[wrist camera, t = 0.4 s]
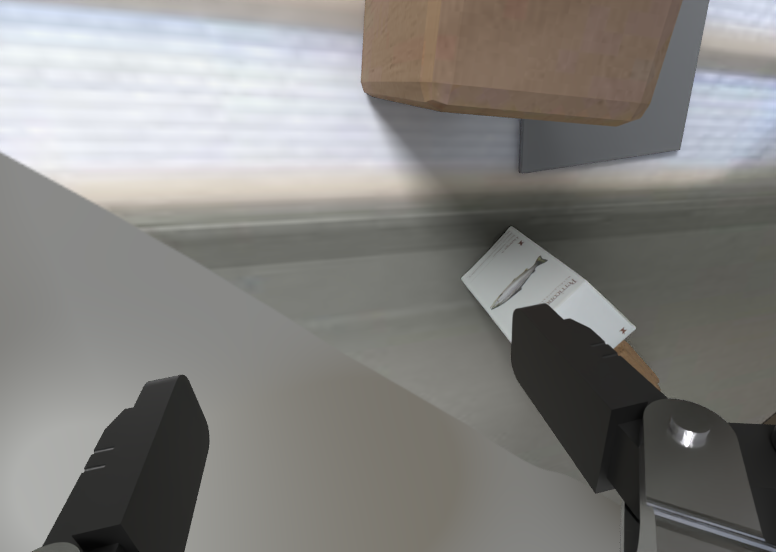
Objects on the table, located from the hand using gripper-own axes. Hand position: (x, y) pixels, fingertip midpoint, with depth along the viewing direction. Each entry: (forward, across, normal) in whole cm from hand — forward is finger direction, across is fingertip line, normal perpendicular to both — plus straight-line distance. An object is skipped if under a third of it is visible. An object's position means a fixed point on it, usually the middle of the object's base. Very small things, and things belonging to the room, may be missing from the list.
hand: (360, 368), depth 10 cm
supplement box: (+28, -17, +14) cm, 35 cm away
